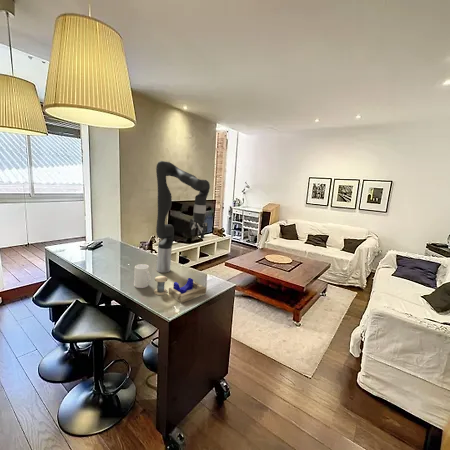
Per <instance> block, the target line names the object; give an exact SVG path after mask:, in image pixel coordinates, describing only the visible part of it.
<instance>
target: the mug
mask: <svg viewBox="0 0 450 450" xmlns="http://www.w3.org/2000/svg"><path fill="white" fill-rule="evenodd" d="M149 268H150V265H148V264H144V263H140V264H136V265H135V266H134V274H133V275H134V278H133V287H134V288H137V289H144V288H147V287H148V286H149V283H150V281H151V273H150V271H149V270H150V269H149Z"/></svg>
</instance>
